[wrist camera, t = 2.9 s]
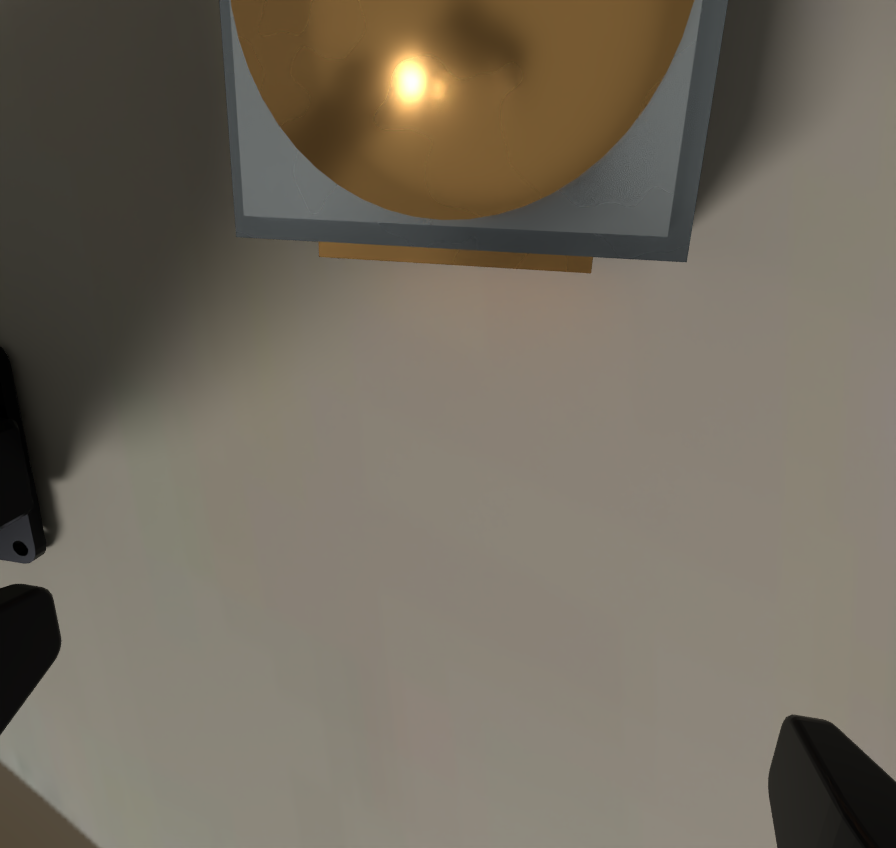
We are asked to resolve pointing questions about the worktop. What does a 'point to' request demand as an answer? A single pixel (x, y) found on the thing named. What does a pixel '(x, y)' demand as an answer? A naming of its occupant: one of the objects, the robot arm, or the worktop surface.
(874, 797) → the robot arm
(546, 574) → the worktop surface
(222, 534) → the worktop surface
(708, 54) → the unit
